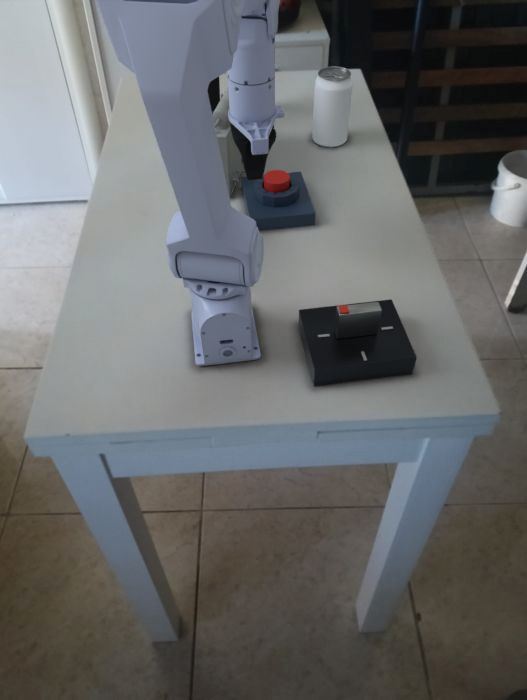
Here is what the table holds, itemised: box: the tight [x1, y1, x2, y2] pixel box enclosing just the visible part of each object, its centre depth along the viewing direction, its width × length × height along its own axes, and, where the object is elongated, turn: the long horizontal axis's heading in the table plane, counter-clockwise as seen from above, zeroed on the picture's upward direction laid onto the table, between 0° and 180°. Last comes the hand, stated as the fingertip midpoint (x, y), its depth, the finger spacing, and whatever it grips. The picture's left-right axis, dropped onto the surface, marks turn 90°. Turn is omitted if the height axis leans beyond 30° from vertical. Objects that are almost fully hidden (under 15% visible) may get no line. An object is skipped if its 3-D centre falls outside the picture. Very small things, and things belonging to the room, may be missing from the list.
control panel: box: [297, 299, 417, 387], centre depth 70 cm, size 12×10×3 cm
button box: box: [240, 171, 316, 232], centre depth 90 cm, size 12×10×4 cm
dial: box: [334, 301, 382, 339], centre depth 67 cm, size 5×2×4 cm, turn 98°
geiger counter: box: [212, 86, 245, 199], centre depth 96 cm, size 14×6×25 cm
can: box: [311, 65, 353, 149], centre depth 101 cm, size 6×6×12 cm
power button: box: [263, 169, 290, 193], centre depth 88 cm, size 4×4×2 cm
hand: (254, 177), depth 79 cm, fingers closed
